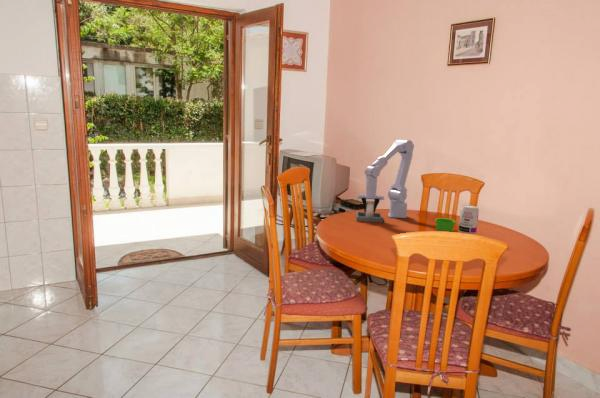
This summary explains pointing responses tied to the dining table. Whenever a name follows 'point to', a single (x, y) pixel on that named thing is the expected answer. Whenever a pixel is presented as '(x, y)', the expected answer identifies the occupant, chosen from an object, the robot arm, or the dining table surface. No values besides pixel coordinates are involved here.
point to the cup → (444, 224)
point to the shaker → (369, 209)
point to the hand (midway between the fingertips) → (369, 212)
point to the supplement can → (468, 219)
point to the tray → (376, 217)
